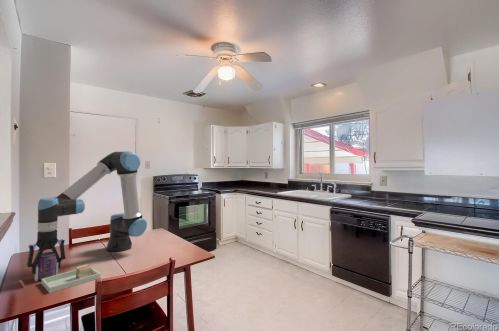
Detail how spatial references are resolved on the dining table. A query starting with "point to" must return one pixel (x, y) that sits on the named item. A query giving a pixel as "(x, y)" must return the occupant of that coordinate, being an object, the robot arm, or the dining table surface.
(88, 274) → the oak block
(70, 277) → the pale green tray
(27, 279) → the dining table surface
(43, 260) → the beverage can
